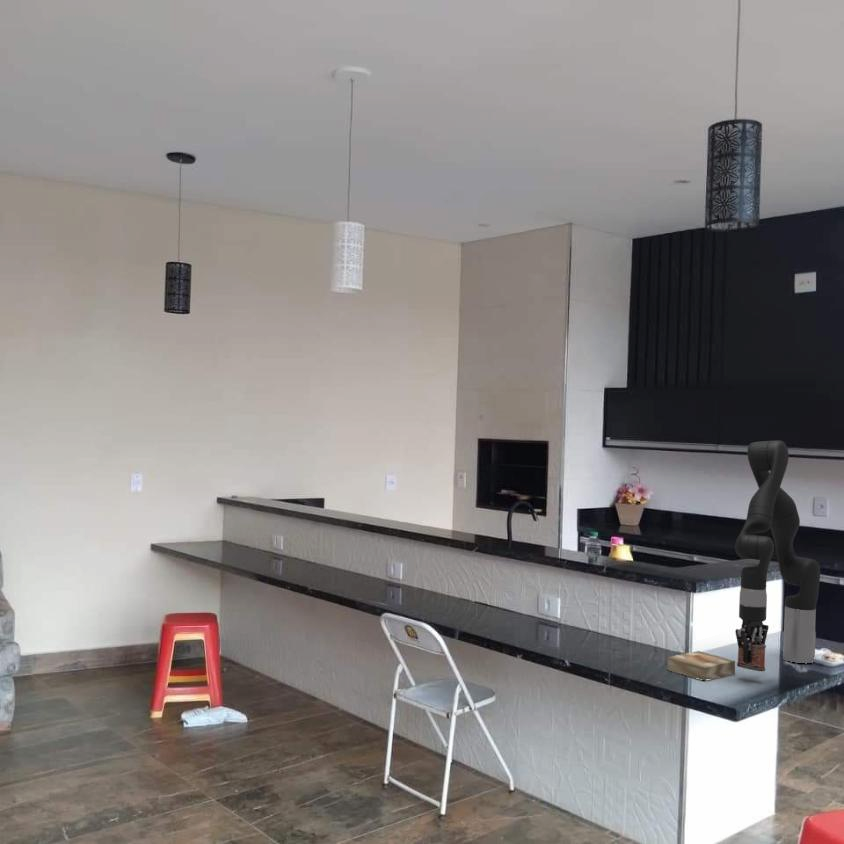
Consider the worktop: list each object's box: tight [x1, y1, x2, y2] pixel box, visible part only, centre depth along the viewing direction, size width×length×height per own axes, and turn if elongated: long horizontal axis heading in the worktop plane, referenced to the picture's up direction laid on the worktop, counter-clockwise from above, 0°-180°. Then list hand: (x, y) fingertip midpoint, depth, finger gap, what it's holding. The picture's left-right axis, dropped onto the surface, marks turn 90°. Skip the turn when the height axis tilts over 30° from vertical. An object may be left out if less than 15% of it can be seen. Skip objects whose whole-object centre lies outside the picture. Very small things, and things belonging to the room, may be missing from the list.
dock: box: [667, 650, 736, 680], centre depth 270 cm, size 15×13×4 cm
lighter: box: [736, 636, 767, 672], centre depth 262 cm, size 8×3×10 cm, turn 48°
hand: (751, 661), depth 262 cm, fingers closed on lighter, 3 cm apart
